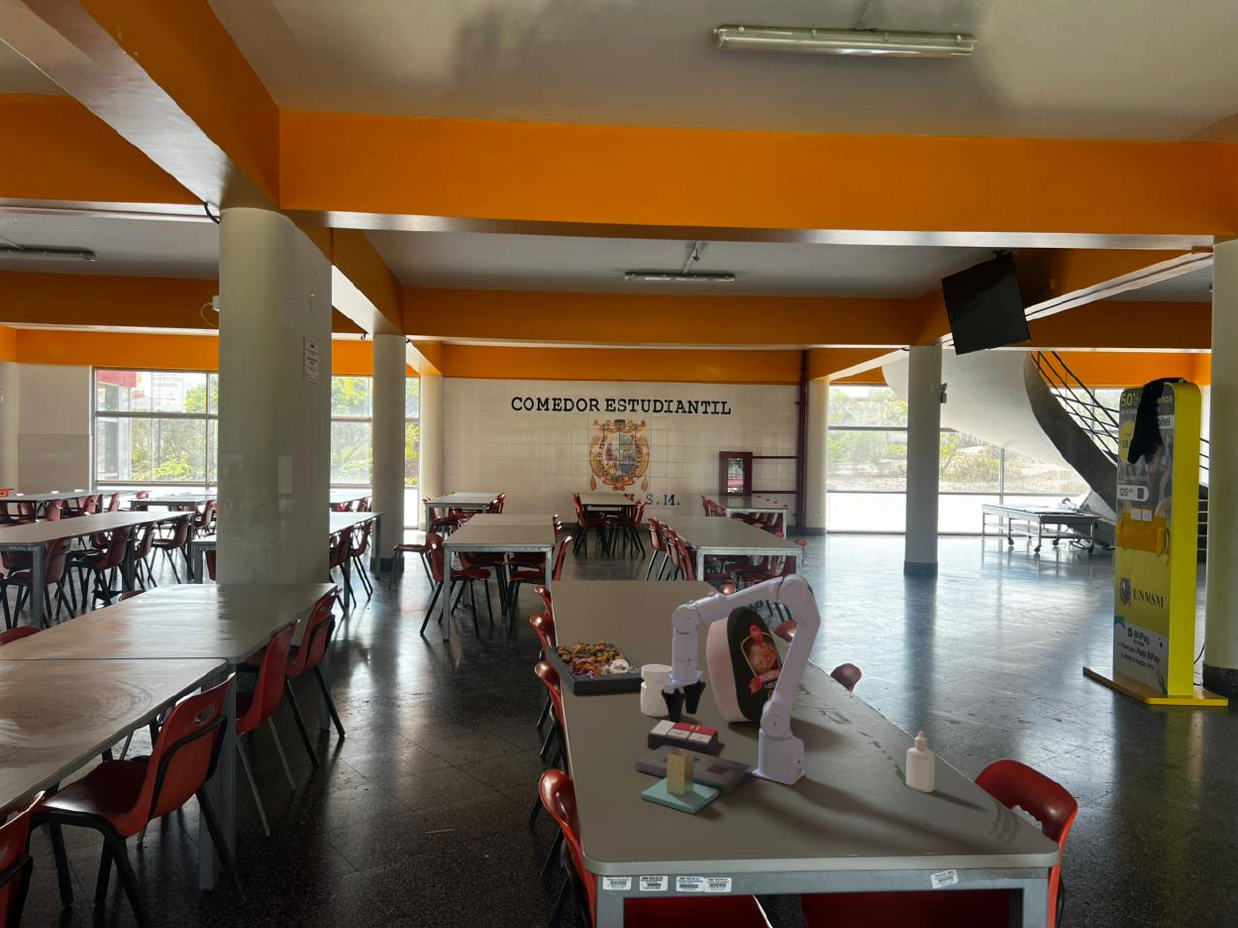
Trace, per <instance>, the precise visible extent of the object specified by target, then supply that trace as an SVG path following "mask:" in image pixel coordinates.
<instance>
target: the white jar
mask: <svg viewBox="0 0 1238 928" xmlns="http://www.w3.org/2000/svg"><path fill="white" fill-rule="evenodd" d="M669 674H672V666H669V665H666V664H660V663H659V664H657V663H655V664H654V663H653V664H650V663H649V664H645V665H642V666H641V677H642V678H643V679H644V680H645V681H644V682H643V683H642V684H641V691H640V713H642V714H644V715H645V716H650V717H666V716H669V713H668V709H667V705H666V702H665V700H664V698H663V696H662V695H661V690H662V689H664V687H665V683H667V682H668V680H669V679H668V678H667V675H669Z"/></svg>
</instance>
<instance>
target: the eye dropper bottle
mask: <svg viewBox="0 0 1238 928" xmlns="http://www.w3.org/2000/svg"><path fill="white" fill-rule="evenodd" d="M905 763H906V765H905V767H906V769H905V784H906V785H907V787H909V788H911V789H913V790H916V791H919V792H922V793H931V792H933V791H935V790H934V789H935V770H936V769H935V765H936V764H935V763H936V761H935V755H934V754H933V752H931V751H930V750H928V739H927V738H926V737H924V732H923V731H921V730H920V731H919V732H918V736H915V737H914V747H910V748H909V749H907V751H906V761H905Z"/></svg>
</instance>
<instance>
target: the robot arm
mask: <svg viewBox="0 0 1238 928" xmlns="http://www.w3.org/2000/svg"><path fill="white" fill-rule="evenodd" d="M707 595H708V596H705V597H702V598H700V599H697V600H694V599H692V600H691V599H690V600H689V601H688V603H684V604H683V603H682V604H681V605H679V606H678V607H677V608H676V609H675V610H674V611H673V613H672V615H671V618H670V619H671V625H672V627H673V630H672V633H673V634H672V635H673V637H672V641H671V643H672V644H671V645H672V647H671V650H672V652H671V667H672V674H669V675H667V678H668V679H669V680H668V682H667V683H665V687H664V689H662V690H661V695H662V696H663V698H664V700H665V702H666V705H667V709H668V713H669V715H668V717H669V721H670V722H674V723H681V720H682V713H683V706H684V705H685V713H686V714H689V715H694V716H695V715H697V714H696V713H697V711H698V706H699V703H700V699H701V696H702V694H703V691H704V690H705V689H706V687H707V686H706V685H707V683H706V682H704V681H702V680H703V677H704V676H703V675H704V674H703V671H701V670H698V641H699V640H698V627H697V626H701V627H702V626H705V625H709V624H712V622H715V621H718V620H721V619H724V618H726V617H728V616H729V614H730V612H731V610H732V609H735V608H738V607H741V606H744V607H745V606H747V605H751V604H753V603H757V602H760V601H764V600H765V601H770V602H773V603H776V604H777V603H778V601H779V600H780V602H781V603H782V604H783V605H784V606H785V607H786V608H787V609H788V610H789V611H791V613H792V615H793V617H794V618H795V620H796V622H797V624H796V625H797V626H796V627H795V630H794V633H793V636H792V640H791V641H790V645H789V648H788V651H787V654H786V656H785V659H784V662H783V663H782V666H783V667H782V670H781V673H780V676H779V679H778V682H777V684H776V687H775V689H774V692H773V694H772V697H771V698H770V699H769V700H768V701H767V702H766V703H765V705H764V707H763V715H762V717H761V720H759V721H760V728H759V730H758V763H757V764H758V765H757V766H758V767H757V768H755V769H754V770H753V771H752V773H751V776H755V777H758V778H761V779H765V780H770V781H774V782H777V783H780V784H781V783H782V784H786V785H789V786H793V784H795V783H796V782H797V781H799V779H801V778H802V777H803V776H804V775H805V771H804V765H805V764H804V763H805V762H804V760H805V746H804V744H805V743H804V741H803V739H801V738H797V737H795V735H793V731H792V730H791V728H790V727H791V716H792V708H793V706H794V705H793V704H794V702H795V697H796V695H797V692H798V688H799V686H800V684H801V683H800V682H801V680H802V678H803V675H804V672H805V669H806V667H807V663H808V660H809V658H810V655H811V652H812V648H813V646H814V643H815V640H816V639H817V634H818V632H819V629H820V626H821V621H822V620H821V615H820V612H819V608H818V604H817V601H816V600H817V599H816V597H815V595H814V590H813V588H812V586H811V585H810V583H808V580H807V579H806V578H805V577H804V576H802V575H801V574H798V573H792V574H791V573H790V574H788V575H786V576H778V577H773V578H771V579H768V580H765V581H762V582H760V583H757V584H754V585H751V586H749V587H746V588H744V589H742V590H739V591H737V592H734V593H732V594H729V595H725V594H723V593H721V592H717V593H715V591H711V592H709V593H708V594H707ZM681 688H682V690H683V692H681V691H680V689H681Z"/></svg>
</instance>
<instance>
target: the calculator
mask: <svg viewBox="0 0 1238 928" xmlns="http://www.w3.org/2000/svg"><path fill="white" fill-rule="evenodd" d="M719 733H720V732H719V731H718V730H717V729H716V728H712V727H706V726H701V725H695V724H692V723H691V724H689V723H684V722H680V723H674V722H670V720H664V719H662V720H660V721H659V722H658V723H657V724H656V725H655V726H654V727H653V728H652V729H651V730H650V731H649V732H648V733H647V735H648V736H647V748H648V749H654V750H656V749H658V748H660V747H661V746H663V745H665V744H666V745H670V746H674V747H678V748H682V749H686V750H690V751H694V752H698V753H702V754H706V755H710V756H711V754H712V752H713V750H715V747H716V746H717V745H718V743H719Z"/></svg>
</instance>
